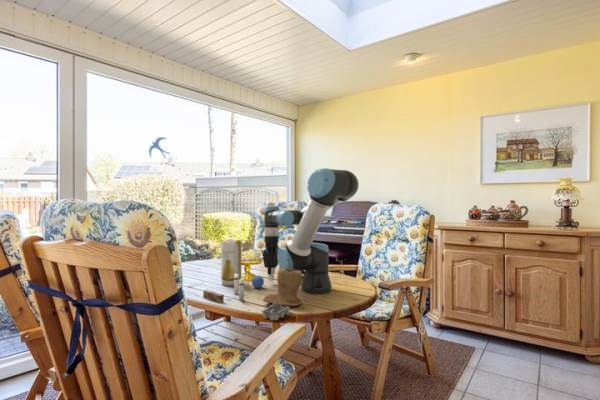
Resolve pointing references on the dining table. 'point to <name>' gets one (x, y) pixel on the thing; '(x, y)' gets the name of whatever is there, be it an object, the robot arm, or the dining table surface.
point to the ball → (257, 281)
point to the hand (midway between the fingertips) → (271, 280)
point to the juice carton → (230, 260)
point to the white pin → (236, 284)
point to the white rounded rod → (241, 289)
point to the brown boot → (286, 288)
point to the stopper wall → (213, 296)
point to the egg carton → (272, 313)
